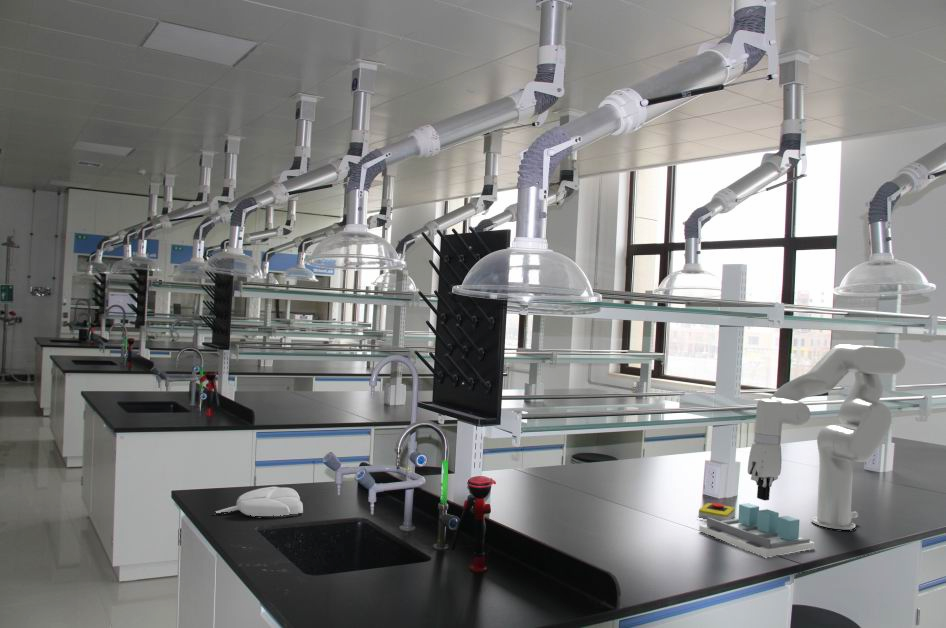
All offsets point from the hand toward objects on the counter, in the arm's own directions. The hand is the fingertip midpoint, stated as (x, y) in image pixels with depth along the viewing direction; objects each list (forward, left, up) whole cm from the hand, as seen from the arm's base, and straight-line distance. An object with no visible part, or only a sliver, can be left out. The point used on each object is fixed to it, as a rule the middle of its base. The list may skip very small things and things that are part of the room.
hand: (762, 499), depth 221 cm
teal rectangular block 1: (+6, 0, -7) cm, 9 cm away
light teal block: (+6, +7, -7) cm, 12 cm away
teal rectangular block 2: (+6, +14, -7) cm, 17 cm away
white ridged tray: (+11, +7, -9) cm, 16 cm away
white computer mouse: (+138, -67, -10) cm, 153 cm away
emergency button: (+3, -15, -10) cm, 18 cm away
